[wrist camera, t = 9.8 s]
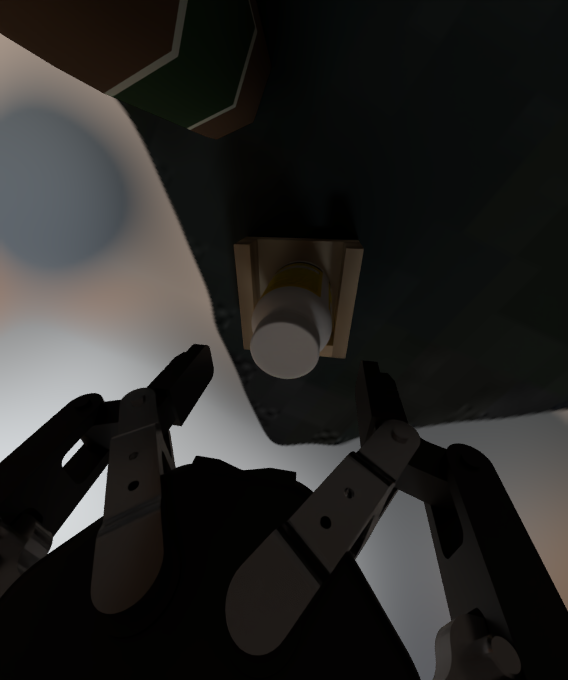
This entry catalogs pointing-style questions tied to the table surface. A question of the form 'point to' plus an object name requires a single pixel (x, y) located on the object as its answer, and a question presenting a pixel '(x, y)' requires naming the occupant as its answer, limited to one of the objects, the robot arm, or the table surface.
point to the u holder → (273, 253)
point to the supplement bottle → (292, 320)
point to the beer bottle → (154, 54)
